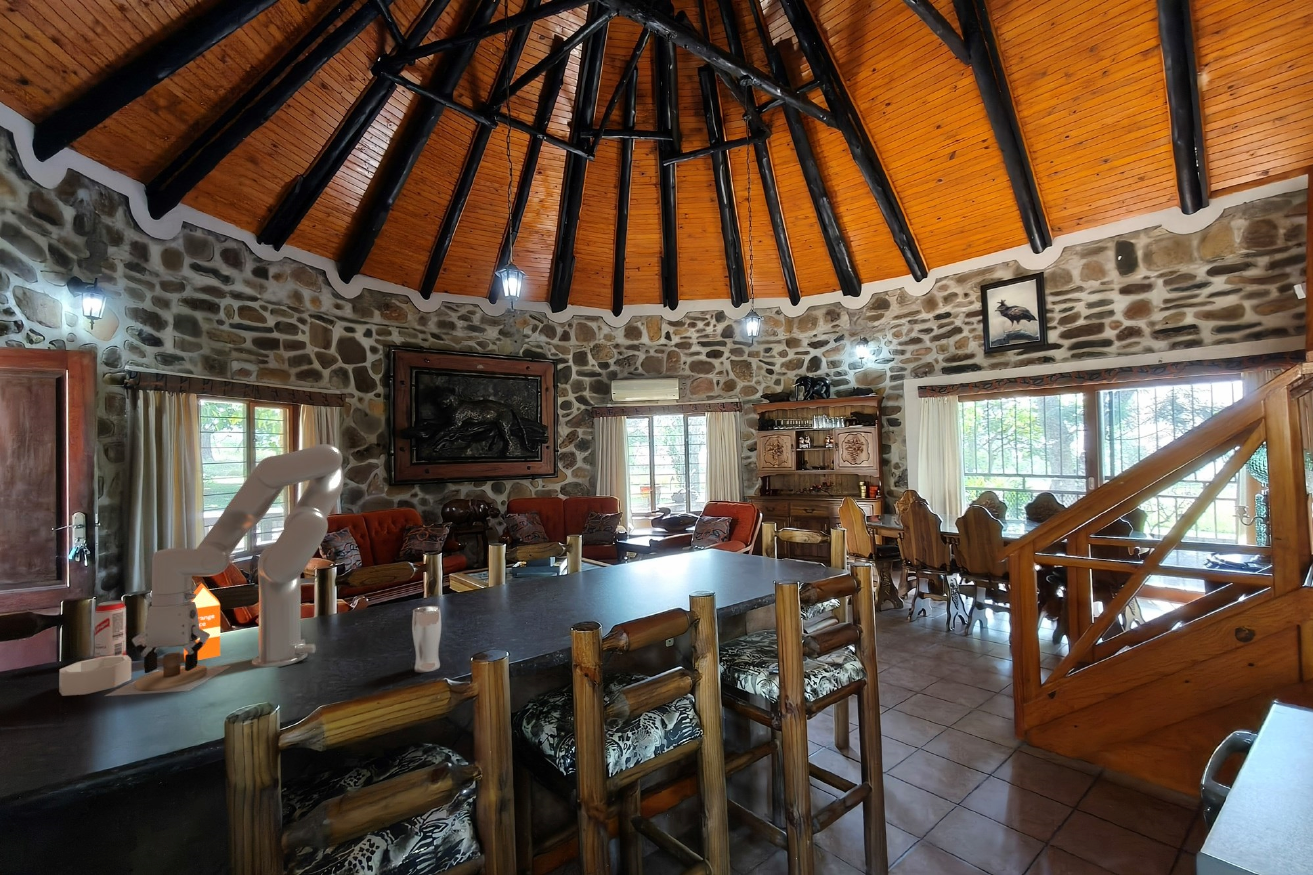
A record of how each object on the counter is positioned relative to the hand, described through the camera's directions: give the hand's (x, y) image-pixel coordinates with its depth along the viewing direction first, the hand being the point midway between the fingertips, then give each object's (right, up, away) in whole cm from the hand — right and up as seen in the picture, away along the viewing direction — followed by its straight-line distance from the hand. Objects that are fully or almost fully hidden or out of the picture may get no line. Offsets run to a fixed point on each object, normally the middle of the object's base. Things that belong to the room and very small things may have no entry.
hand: (171, 669), depth 142 cm
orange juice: (-7, -4, +18) cm, 20 cm away
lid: (0, -3, 0) cm, 3 cm away
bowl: (-17, -3, -2) cm, 17 cm away
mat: (0, -3, 0) cm, 3 cm away
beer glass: (+61, -2, +6) cm, 61 cm away
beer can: (-31, -5, +17) cm, 35 cm away
